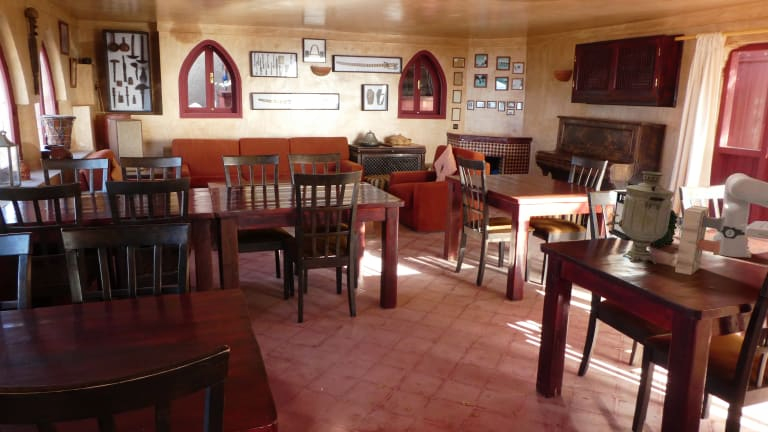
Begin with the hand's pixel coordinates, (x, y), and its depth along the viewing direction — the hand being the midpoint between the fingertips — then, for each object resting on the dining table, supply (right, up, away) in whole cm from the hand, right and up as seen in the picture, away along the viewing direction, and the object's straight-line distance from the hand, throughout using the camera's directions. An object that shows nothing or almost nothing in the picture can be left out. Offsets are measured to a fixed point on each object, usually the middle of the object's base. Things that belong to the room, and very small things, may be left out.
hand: (736, 226), depth 230 cm
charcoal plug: (-7, -1, +7) cm, 10 cm away
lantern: (-10, -7, +75) cm, 76 cm away
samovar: (-30, -16, +29) cm, 44 cm away
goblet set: (+11, -6, +83) cm, 84 cm away
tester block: (-12, -19, +14) cm, 27 cm away
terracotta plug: (-8, -11, +9) cm, 16 cm away
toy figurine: (-2, -11, +56) cm, 58 cm away
